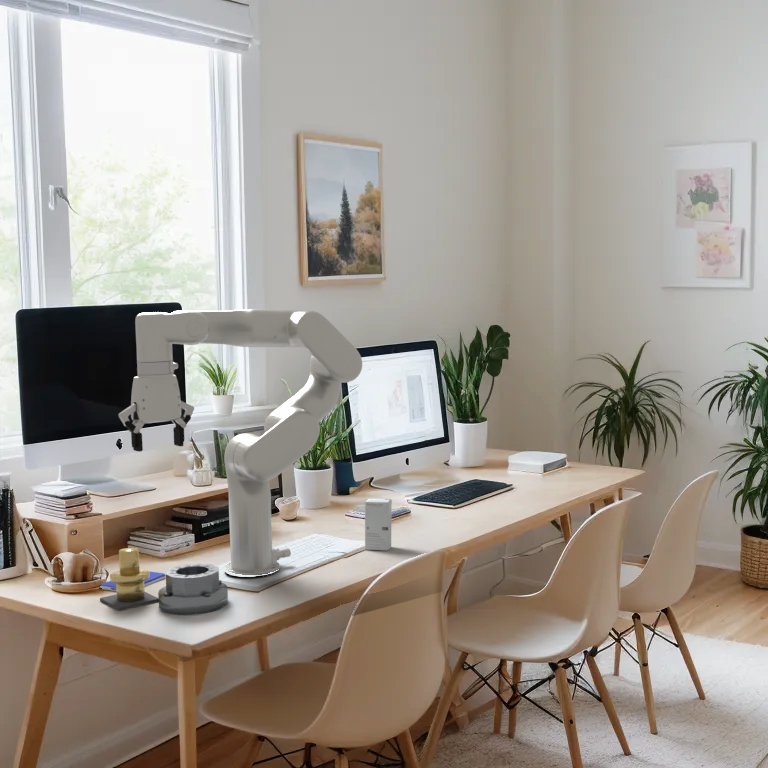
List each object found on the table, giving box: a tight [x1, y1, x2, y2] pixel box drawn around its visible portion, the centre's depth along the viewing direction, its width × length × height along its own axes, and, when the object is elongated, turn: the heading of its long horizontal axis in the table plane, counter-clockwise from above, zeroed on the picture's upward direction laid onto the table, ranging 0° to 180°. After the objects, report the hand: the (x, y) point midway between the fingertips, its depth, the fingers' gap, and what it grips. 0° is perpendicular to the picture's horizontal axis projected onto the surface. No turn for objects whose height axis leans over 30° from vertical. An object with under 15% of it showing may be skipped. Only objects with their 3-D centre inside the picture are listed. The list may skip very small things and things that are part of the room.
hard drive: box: [100, 570, 166, 592], centre depth 224 cm, size 2×8×12 cm
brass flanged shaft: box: [109, 547, 151, 602], centre depth 211 cm, size 8×8×10 cm
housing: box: [157, 563, 229, 616], centre depth 208 cm, size 14×14×7 cm
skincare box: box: [364, 497, 393, 552], centre depth 250 cm, size 6×4×12 cm
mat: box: [99, 591, 159, 611], centre depth 211 cm, size 9×9×1 cm
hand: (158, 448), depth 220 cm, fingers open, 9 cm apart
